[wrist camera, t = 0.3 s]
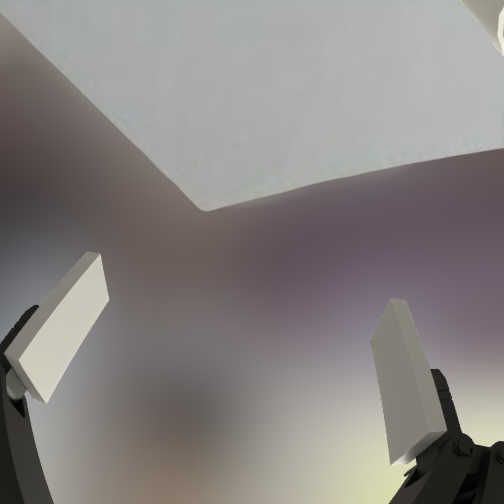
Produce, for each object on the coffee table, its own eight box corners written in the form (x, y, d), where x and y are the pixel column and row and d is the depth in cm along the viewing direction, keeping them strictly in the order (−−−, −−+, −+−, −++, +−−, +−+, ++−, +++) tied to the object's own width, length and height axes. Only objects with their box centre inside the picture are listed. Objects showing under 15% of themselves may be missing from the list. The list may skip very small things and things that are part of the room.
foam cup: (519, -3, 16) (580, 45, 10) (481, 35, 24) (531, 91, 18) (469, -56, 14) (533, -29, 8) (430, -12, 21) (479, 28, 15)
